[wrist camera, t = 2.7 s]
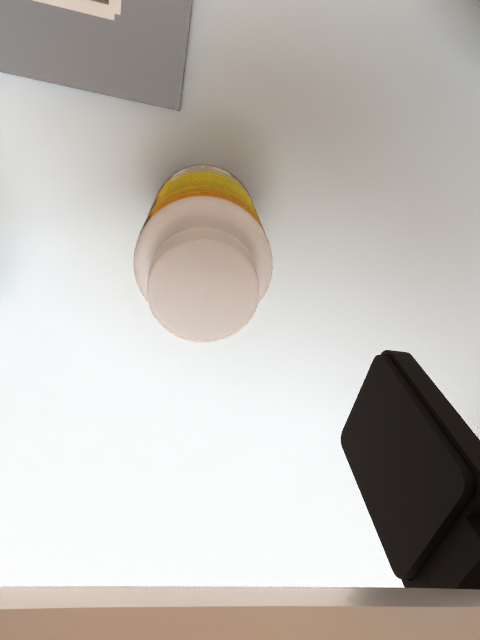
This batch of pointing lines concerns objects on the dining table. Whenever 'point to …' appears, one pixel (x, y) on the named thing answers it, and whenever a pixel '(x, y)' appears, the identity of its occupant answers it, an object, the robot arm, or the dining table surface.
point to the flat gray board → (99, 46)
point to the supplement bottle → (203, 255)
